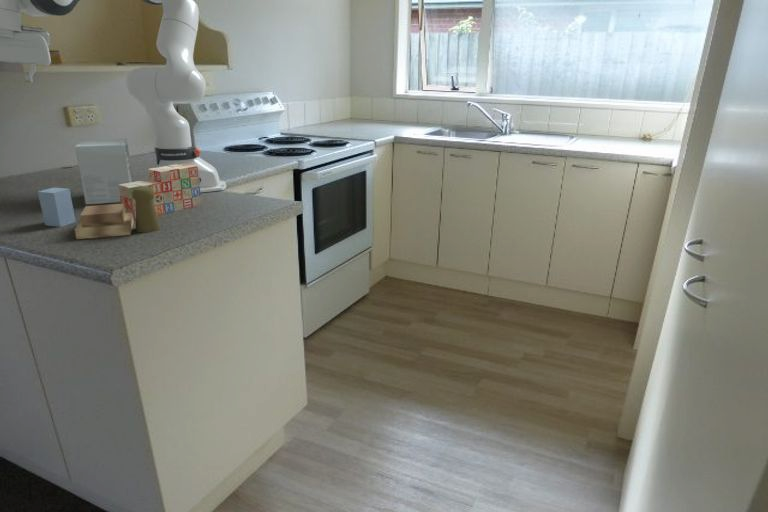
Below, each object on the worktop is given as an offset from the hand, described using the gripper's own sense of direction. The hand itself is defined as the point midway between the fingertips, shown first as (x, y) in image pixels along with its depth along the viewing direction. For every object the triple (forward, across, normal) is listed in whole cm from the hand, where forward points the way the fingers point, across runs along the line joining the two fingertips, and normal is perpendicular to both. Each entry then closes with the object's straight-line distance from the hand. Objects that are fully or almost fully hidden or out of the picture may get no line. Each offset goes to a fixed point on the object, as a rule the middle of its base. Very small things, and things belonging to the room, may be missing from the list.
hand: (7, 80), depth 136 cm
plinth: (+36, -20, +23) cm, 47 cm away
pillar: (+36, -9, +11) cm, 39 cm away
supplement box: (+33, -22, -12) cm, 42 cm away
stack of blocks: (+34, -35, +10) cm, 50 cm away
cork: (+36, -30, +26) cm, 53 cm away
